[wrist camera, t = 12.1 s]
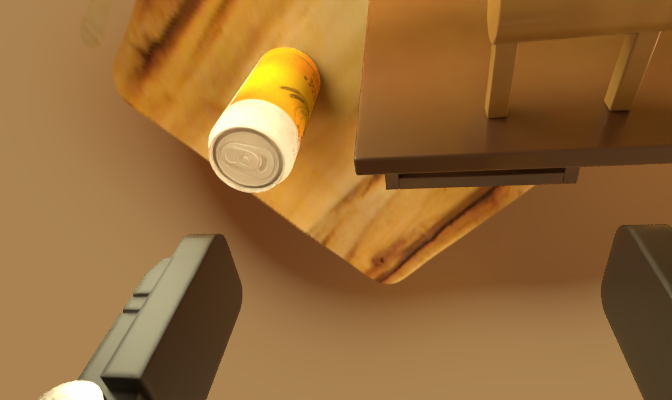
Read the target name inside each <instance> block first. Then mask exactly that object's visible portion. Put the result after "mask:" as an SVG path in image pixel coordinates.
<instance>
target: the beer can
mask: <svg viewBox="0 0 672 400" xmlns="http://www.w3.org/2000/svg"><path fill="white" fill-rule="evenodd" d="M319 89H320V75H319V72H318V69H317V67H316V65H315V64H314V62H313V61H312V60H311V59H310V58H309V57H308V56H307V55H306V54H304V53H302V52H301V51H299V50H296V49H293V48H287V47H281V48H276V49H273V50H271V51H269V52H267V53H266V54H265V55H264V56H263V57H262V58H261V59H260V61H259V62H258V63H257V65H256V66H255V68H254V69H253V71H252V72H251V74H250V75H249V76H248V78H247V79H246V81H245V82H244V84H243V85H242V87H241V88H240V89H239V91H238V92H237V94H236V95H235V97H234V98H233V100H232V101H231V102H230V104H229V105H228V107H227V108H226V110H225V111H224V113H223V114H222V115H221V117H220V118H219V120H218V121H217V123H216V124H215V126H214V127H213V129H212V130H211V133H210V135H209V140H208V147H209V160H210V164H211V166H212V168H213V170H214V172H215V173H216V174H217V176H218V177H219V178H220V179H221V180H222V181H223V182H225V183H226V184H227V185H229V186H230V187H232V188H234V189H237V190H239V191H243V192H248V193H260V192H265V191H268V190H270V189H272V188H273V187H275V186H276V185H277V184H279V183H280V182H282V181H283V180H284V179H285V178H286V177H287V176H288V175H289V174H290V172H291V170H292V167H293V165H294V162H295V159H296V156H297V153H298V150H299V147H300V144H301V142H302V139H303V136H304V133H305V130H306V127H307V124H308V121H309V118H310V116H311V113H312V110H313V107H314V104H315V101H316V98H317V95H318V93H319Z"/></svg>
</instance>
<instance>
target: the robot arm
mask: <svg viewBox="0 0 672 400" xmlns="http://www.w3.org/2000/svg"><path fill="white" fill-rule="evenodd" d="M133 294H134V295H133V298H130V299H129V301H128V303H127V304H126V306H125V307H124V309H123V314H120V315H119V316H118V318H117V320H116V321H115V323H114V324H113V326H112V327H111V329H110V330H109V332H108V333H107V335H106V336H105V338H104V340H103V341H102V343H101V344H100V346H99V347H98V349H97V350H96V352H95V353H94V355H93V356H92V358H91V360H90V361H89V363H88V364H87V366H86V367H85V369H84V370H83V372H82V373H81V375H80V376H79V378H78V379H77V380H76V381H71V382H68V383H64V384H62V385H59V386H57V387H55V388H53V389H51V390H50V391H48V392H46V393H45V394H43V395H42V396H41V397H39V398H38V399H37V400H206V399H207V396H208V393H209V391H210V388H211V385H212V383H213V380H214V378H215V375H216V372H217V369H218V367H219V364H220V362H221V359H222V356H223V354H224V351H225V349H226V346H227V343H228V341H229V338H230V335H231V333H232V330H233V327H234V325H235V322H236V319H237V317H238V314H239V312H240V308H241V304H242V285H241V281H240V278H239V275H238V273H237V270H236V267H235V264H234V261H233V258H232V256H231V252H230V249H229V247H228V244H227V241H226V239H225V237H224V236H223V235H222V234H193V235H192V234H190V235H187V236H185V237H184V239H183V240H182V241H181V243H180V245H179V246H178V248H177V250H176V251H175V253H174V255H173V256H172V258H164V259H163V260H162V261H161V262H160V263H158V264H157V265H156V266H155V267H154V268H153V269H151V270H150V271H149V272H148V273H147V274H146V275H145V276H144V278H143V279H142V281H141V282H140V284H139V285H138V287H137V289H136V290H135V292H134V293H133ZM601 297H602V304H603V309H604V312H605V314H606V317H607V319H608V321H609V323H610V326H611V328H612V330H613V332H614V335H615V337H616V339H617V341H618V343H619V346H620V348H621V350H622V352H623V354H624V357H625V359H626V361H627V363H628V365H629V368H630V370H631V372H632V374H633V377H634V379H635V381H636V383H637V385H638V388H639V390H640V392H641V394H642V396H643V398H644V400H672V227H671V226H669V225H666V224H658V225H657V224H656V225H623V226H620V227H619V228H618V229H617V231H616V234H615V237H614V240H613V244H612V248H611V251H610V255H609V258H608V262H607V266H606V269H605V273H604V276H603V280H602V285H601Z"/></svg>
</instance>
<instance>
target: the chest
mask: <svg viewBox="0 0 672 400" xmlns="http://www.w3.org/2000/svg"><path fill="white" fill-rule="evenodd" d="M579 170H580V167H563V168H537V169H511V170H484V171H458V172H431V173H405V174H385V181H386V190H390V189H416V188H447V187H478V186H509V185H540V184H562V183H563V184H570V183H577V179H578V175H579Z"/></svg>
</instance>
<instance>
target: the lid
mask: <svg viewBox="0 0 672 400" xmlns="http://www.w3.org/2000/svg"><path fill="white" fill-rule="evenodd" d="M666 163H667V164H668V163H672V0H369V8H368V19H367V29H366V39H365V49H364V60H363V70H362V80H361V90H360V101H359V111H358V121H357V132H356V142H355V152H354V165H355V172H356V174H357V175H378V174H405V173H431V172H458V171H484V170H511V169H537V168H563V167H588V166H614V165H640V164H641V165H643V164H666Z"/></svg>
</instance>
